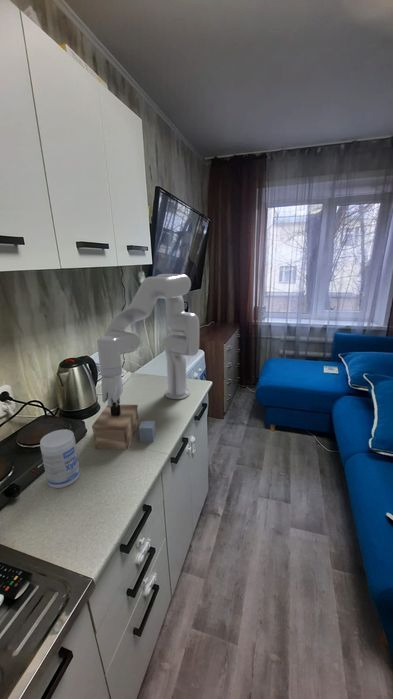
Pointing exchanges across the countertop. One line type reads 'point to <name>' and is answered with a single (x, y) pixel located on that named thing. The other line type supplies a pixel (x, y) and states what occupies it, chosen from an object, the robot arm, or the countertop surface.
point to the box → (116, 435)
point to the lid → (115, 418)
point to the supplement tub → (60, 458)
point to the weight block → (147, 431)
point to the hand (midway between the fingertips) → (116, 414)
